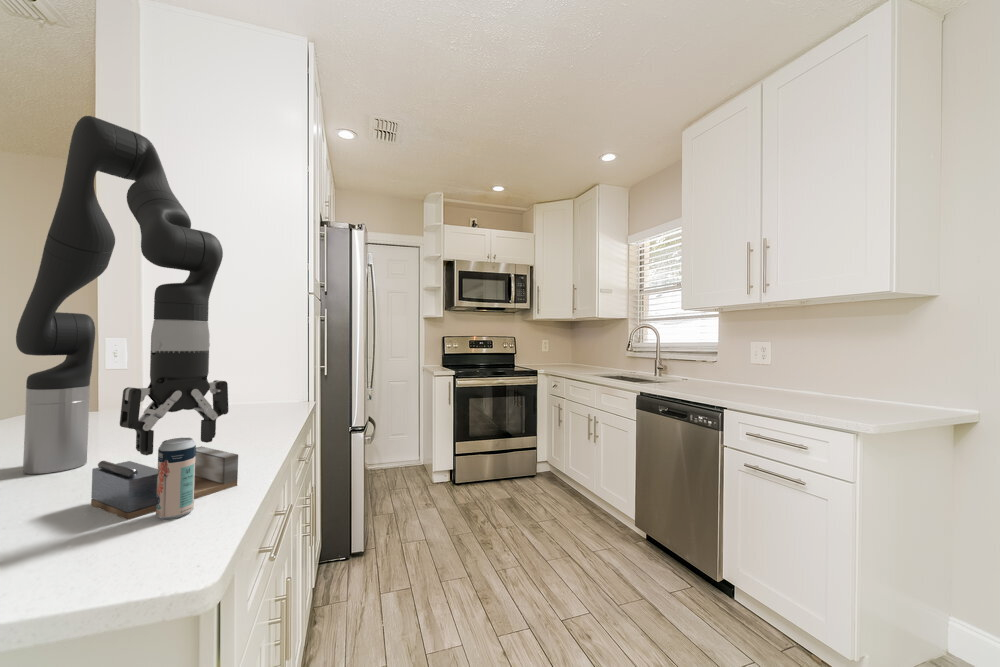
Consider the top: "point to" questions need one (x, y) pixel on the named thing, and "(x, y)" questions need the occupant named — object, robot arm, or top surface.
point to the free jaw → (124, 485)
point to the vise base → (210, 477)
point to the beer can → (175, 478)
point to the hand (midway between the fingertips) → (178, 447)
